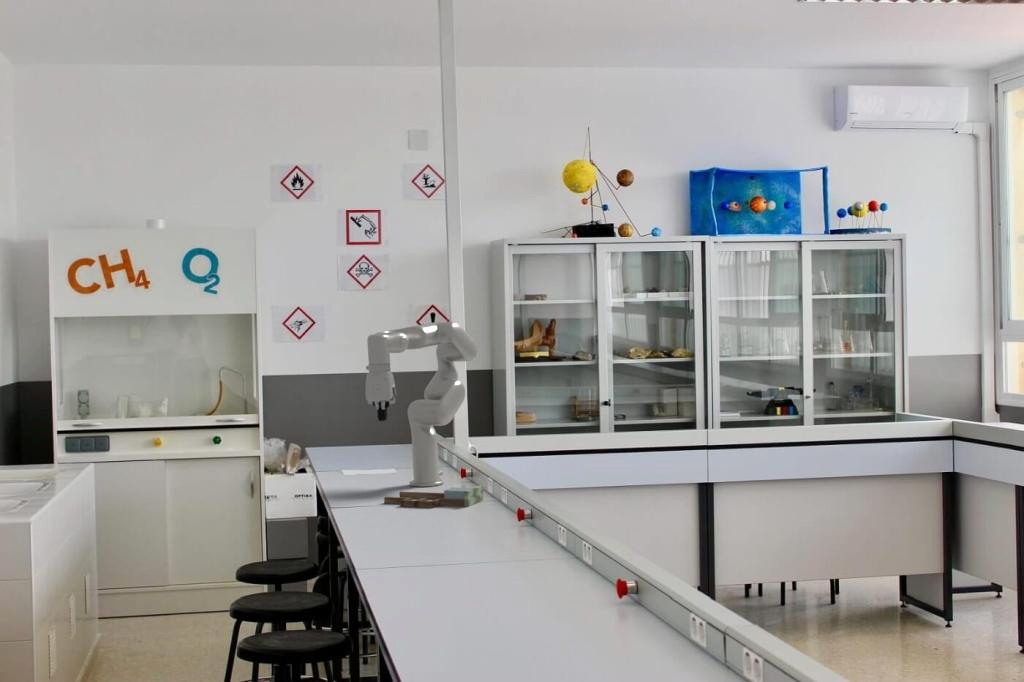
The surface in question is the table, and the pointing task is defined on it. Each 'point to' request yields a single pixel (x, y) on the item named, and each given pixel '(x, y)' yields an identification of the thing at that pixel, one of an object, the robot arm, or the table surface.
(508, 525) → the table surface
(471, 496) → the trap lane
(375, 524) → the table surface
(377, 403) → the robot arm
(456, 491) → the slate block
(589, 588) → the table surface
